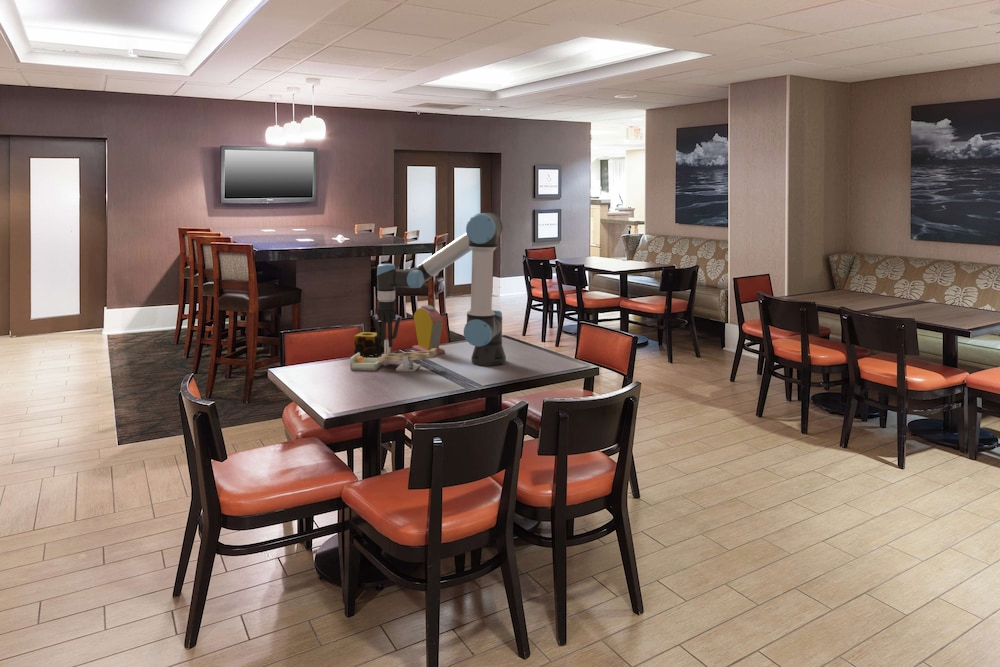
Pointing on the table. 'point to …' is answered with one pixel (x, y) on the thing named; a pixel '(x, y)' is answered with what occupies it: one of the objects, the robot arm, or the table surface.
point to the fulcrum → (407, 365)
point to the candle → (368, 344)
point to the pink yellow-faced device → (428, 329)
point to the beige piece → (412, 355)
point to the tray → (367, 365)
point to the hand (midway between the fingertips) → (387, 354)
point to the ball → (360, 359)
